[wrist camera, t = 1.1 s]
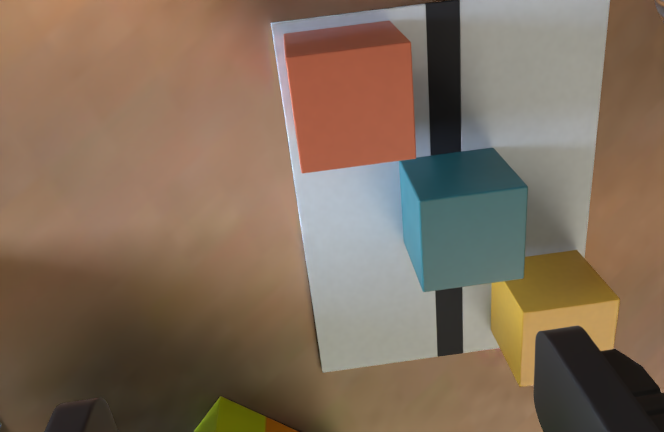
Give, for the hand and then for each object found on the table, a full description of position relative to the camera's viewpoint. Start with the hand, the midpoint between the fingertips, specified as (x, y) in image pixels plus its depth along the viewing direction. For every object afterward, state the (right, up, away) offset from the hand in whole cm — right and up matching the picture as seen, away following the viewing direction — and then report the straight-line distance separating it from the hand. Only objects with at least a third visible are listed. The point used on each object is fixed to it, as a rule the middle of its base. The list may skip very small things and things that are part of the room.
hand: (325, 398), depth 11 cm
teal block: (+6, +4, +22) cm, 23 cm away
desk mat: (+6, +4, +22) cm, 23 cm away
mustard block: (+12, -1, +25) cm, 28 cm away
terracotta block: (+1, +10, +18) cm, 21 cm away
